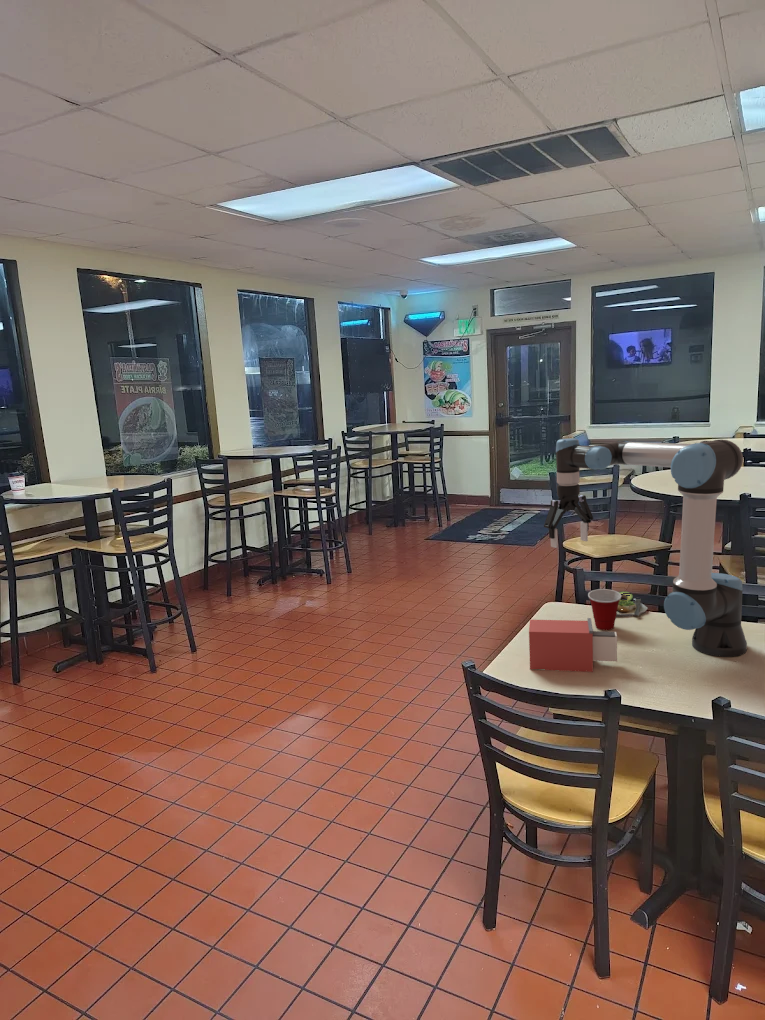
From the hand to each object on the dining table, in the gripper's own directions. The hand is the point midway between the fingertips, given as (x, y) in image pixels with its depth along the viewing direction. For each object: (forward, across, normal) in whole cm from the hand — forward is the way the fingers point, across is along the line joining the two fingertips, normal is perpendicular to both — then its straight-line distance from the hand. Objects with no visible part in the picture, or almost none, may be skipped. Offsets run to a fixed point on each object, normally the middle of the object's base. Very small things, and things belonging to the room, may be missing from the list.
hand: (569, 544), depth 235 cm
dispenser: (+27, +29, +27) cm, 48 cm away
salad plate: (+28, -21, +3) cm, 35 cm away
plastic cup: (+28, -3, +14) cm, 31 cm away
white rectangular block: (+25, +23, +31) cm, 47 cm away
